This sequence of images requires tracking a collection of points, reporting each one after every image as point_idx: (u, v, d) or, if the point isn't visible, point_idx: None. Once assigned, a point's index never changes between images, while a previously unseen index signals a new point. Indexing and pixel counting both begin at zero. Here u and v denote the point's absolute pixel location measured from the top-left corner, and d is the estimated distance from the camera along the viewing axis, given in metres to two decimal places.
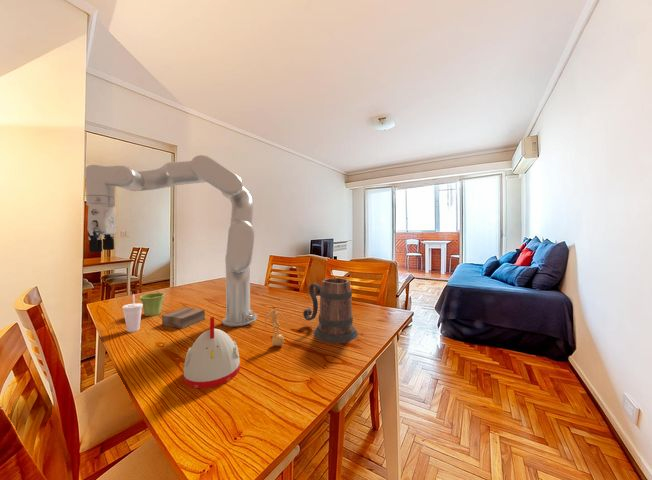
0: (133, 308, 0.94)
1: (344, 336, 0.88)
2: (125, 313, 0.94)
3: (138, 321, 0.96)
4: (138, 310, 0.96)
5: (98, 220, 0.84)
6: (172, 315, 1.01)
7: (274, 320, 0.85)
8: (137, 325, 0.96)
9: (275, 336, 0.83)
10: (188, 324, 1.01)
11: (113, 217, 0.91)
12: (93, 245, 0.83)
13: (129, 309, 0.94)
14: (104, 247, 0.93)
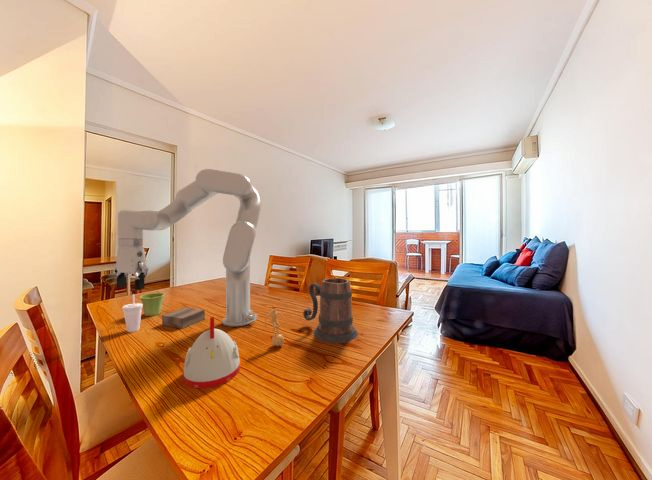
0: (133, 308, 0.94)
1: (344, 336, 0.88)
2: (125, 313, 0.94)
3: (138, 321, 0.96)
4: (138, 310, 0.96)
5: (142, 261, 0.95)
6: (172, 315, 1.01)
7: (274, 320, 0.85)
8: (137, 325, 0.96)
9: (275, 336, 0.83)
10: (188, 324, 1.01)
11: None
12: (140, 283, 0.94)
13: (129, 309, 0.94)
14: (119, 285, 0.96)
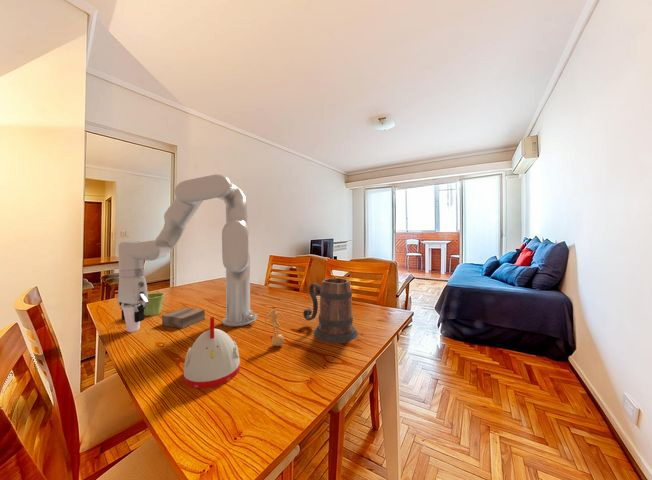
0: (133, 308, 0.94)
1: (344, 336, 0.88)
2: (125, 313, 0.94)
3: None
4: None
5: (144, 291, 0.96)
6: (172, 315, 1.01)
7: (274, 320, 0.85)
8: (137, 325, 0.96)
9: (275, 336, 0.83)
10: (188, 324, 1.01)
11: None
12: (140, 316, 0.95)
13: (129, 309, 0.94)
14: (124, 317, 0.97)
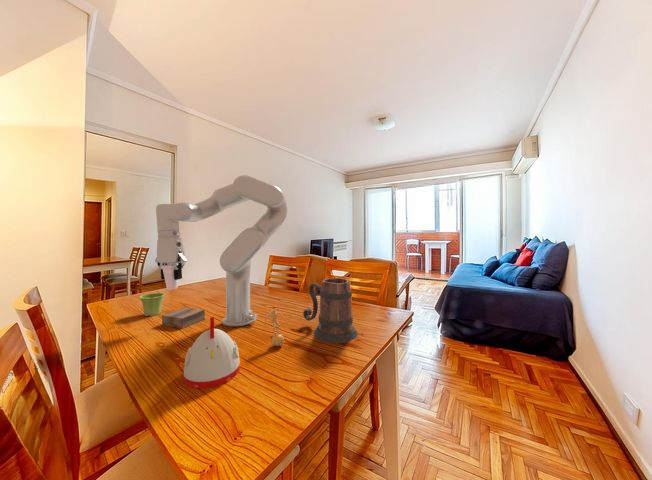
0: (172, 266, 1.00)
1: (344, 336, 0.88)
2: (165, 271, 1.00)
3: None
4: None
5: (181, 250, 1.01)
6: (172, 315, 1.01)
7: (274, 320, 0.85)
8: (176, 283, 1.02)
9: (275, 336, 0.83)
10: (188, 324, 1.01)
11: None
12: (179, 274, 1.01)
13: (168, 267, 0.99)
14: (163, 277, 1.02)
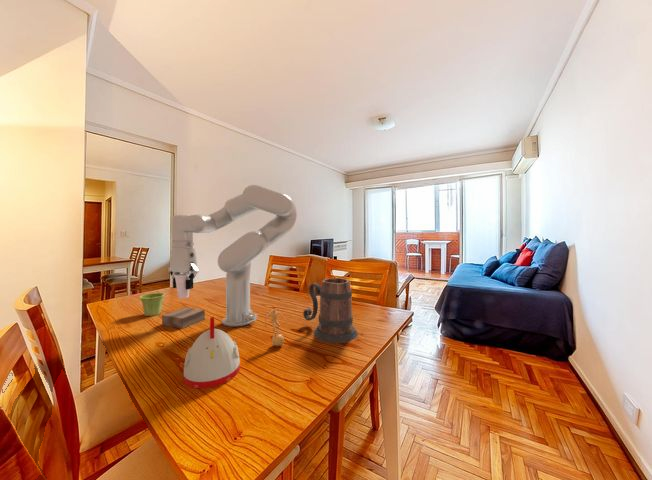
0: (184, 276, 1.03)
1: (344, 336, 0.88)
2: (177, 281, 1.02)
3: (188, 289, 1.05)
4: None
5: (194, 261, 1.04)
6: (172, 315, 1.01)
7: (274, 320, 0.85)
8: (187, 292, 1.05)
9: (275, 336, 0.83)
10: (188, 324, 1.01)
11: None
12: (190, 283, 1.03)
13: (181, 277, 1.02)
14: (175, 286, 1.05)
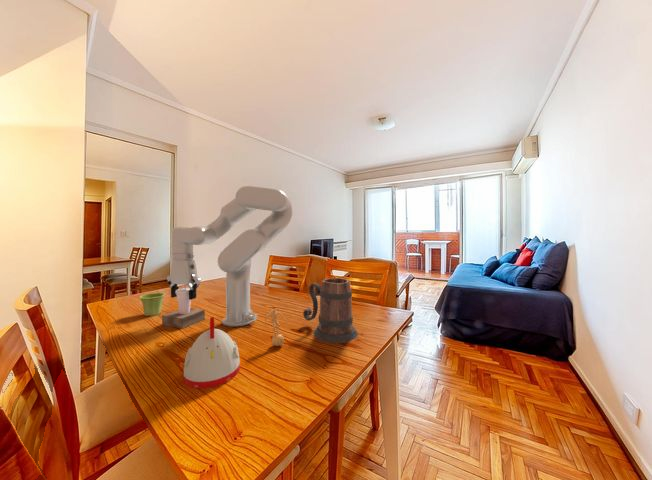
0: (186, 292, 1.03)
1: (344, 336, 0.88)
2: (178, 296, 1.03)
3: (189, 304, 1.05)
4: None
5: (194, 273, 1.04)
6: (172, 315, 1.01)
7: (274, 320, 0.85)
8: (188, 308, 1.05)
9: (275, 336, 0.83)
10: (188, 324, 1.01)
11: None
12: (193, 293, 1.03)
13: (182, 292, 1.02)
14: (173, 295, 1.06)
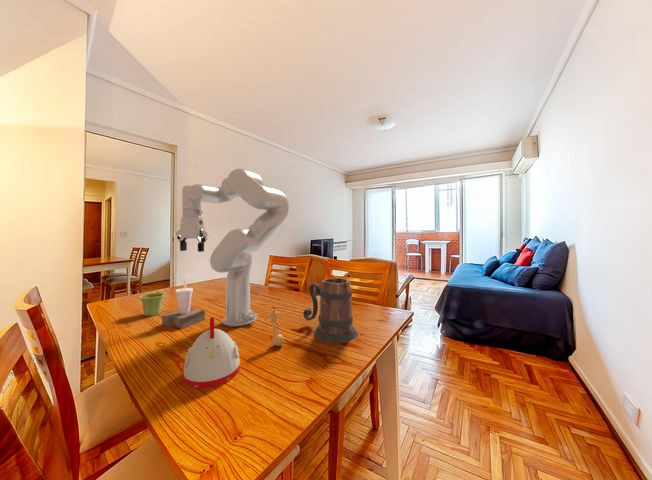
0: (186, 292, 1.03)
1: (344, 336, 0.88)
2: (178, 296, 1.03)
3: (189, 304, 1.05)
4: (189, 294, 1.05)
5: (202, 228, 1.14)
6: (172, 315, 1.01)
7: (274, 320, 0.85)
8: (188, 308, 1.05)
9: (275, 336, 0.83)
10: (188, 324, 1.01)
11: None
12: (202, 246, 1.13)
13: (182, 292, 1.02)
14: (182, 248, 1.15)
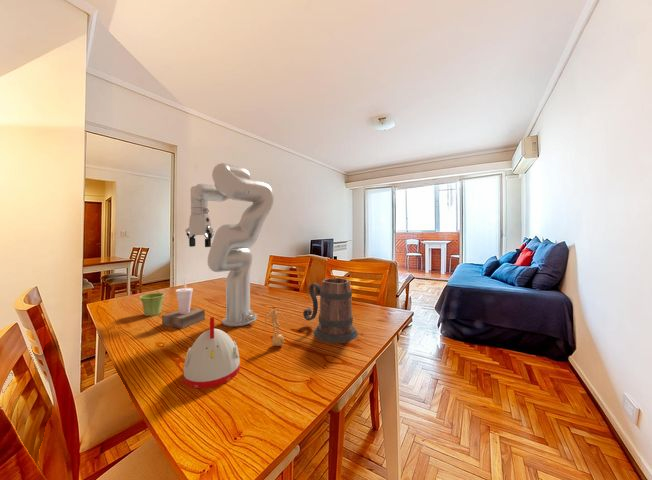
0: (186, 292, 1.03)
1: (344, 336, 0.88)
2: (178, 296, 1.03)
3: (189, 304, 1.05)
4: (189, 294, 1.05)
5: (209, 225, 1.23)
6: (172, 315, 1.01)
7: (274, 320, 0.85)
8: (188, 308, 1.05)
9: (275, 336, 0.83)
10: (188, 324, 1.01)
11: None
12: (209, 242, 1.22)
13: (182, 292, 1.02)
14: (191, 244, 1.25)
